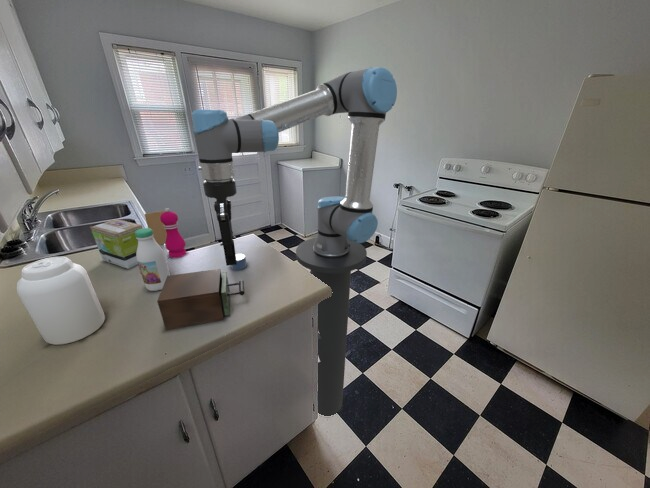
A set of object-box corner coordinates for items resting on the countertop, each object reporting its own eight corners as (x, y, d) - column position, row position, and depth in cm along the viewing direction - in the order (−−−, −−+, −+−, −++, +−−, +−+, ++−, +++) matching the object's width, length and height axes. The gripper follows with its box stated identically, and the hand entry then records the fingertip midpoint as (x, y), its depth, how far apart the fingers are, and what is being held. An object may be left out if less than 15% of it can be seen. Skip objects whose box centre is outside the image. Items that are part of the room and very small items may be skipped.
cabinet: (224, 294, 87) (220, 268, 83) (223, 320, 76) (218, 291, 72) (174, 302, 83) (167, 275, 79) (165, 330, 72) (156, 301, 68)
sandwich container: (169, 231, 134) (162, 201, 128) (175, 241, 123) (167, 210, 116) (149, 234, 129) (140, 204, 123) (153, 246, 118) (144, 213, 112)
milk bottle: (162, 276, 96) (147, 224, 87) (177, 282, 93) (163, 228, 84) (140, 287, 89) (122, 232, 81) (155, 294, 86) (138, 237, 78)
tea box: (101, 261, 105) (88, 226, 99) (127, 251, 113) (116, 218, 107) (127, 269, 100) (115, 232, 94) (152, 258, 108) (142, 223, 102)
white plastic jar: (30, 345, 67) (-12, 276, 58) (75, 312, 78) (46, 250, 69) (79, 347, 66) (44, 278, 58) (117, 314, 77) (92, 252, 69)
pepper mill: (163, 257, 109) (151, 209, 101) (177, 249, 116) (166, 204, 107) (178, 259, 108) (167, 211, 99) (191, 251, 114) (181, 206, 105)
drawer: (245, 290, 88) (242, 269, 84) (246, 312, 78) (243, 289, 75) (183, 299, 83) (178, 277, 79) (177, 324, 73) (170, 300, 70)
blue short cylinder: (246, 261, 107) (245, 252, 105) (246, 268, 102) (245, 259, 100) (231, 263, 105) (230, 254, 103) (231, 270, 100) (229, 261, 99)
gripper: (205, 174, 71) (218, 253, 81) (199, 186, 59) (216, 277, 69) (234, 173, 73) (244, 250, 83) (235, 184, 61) (246, 273, 71)
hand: (231, 262), depth 76 cm, fingers closed
